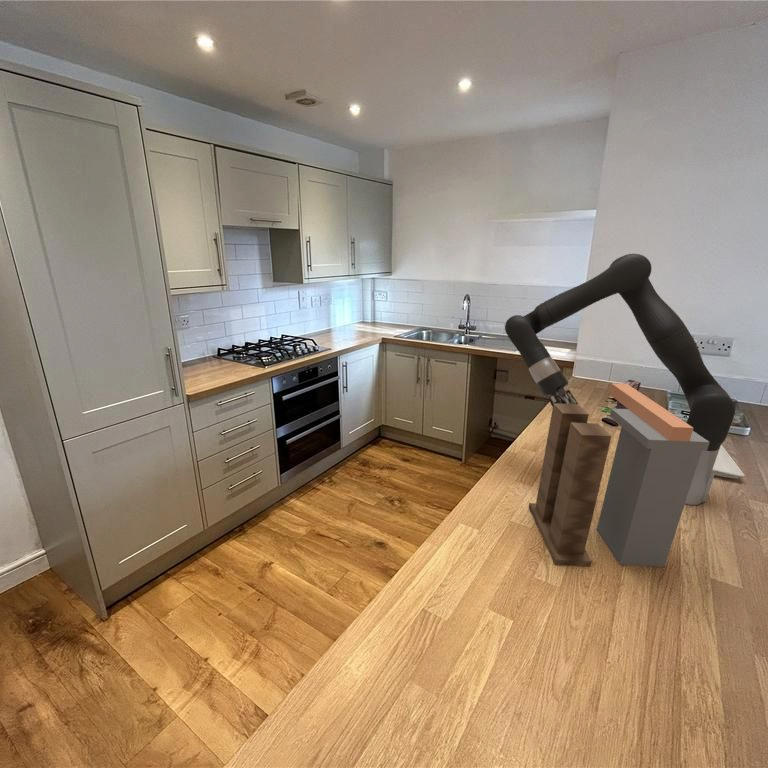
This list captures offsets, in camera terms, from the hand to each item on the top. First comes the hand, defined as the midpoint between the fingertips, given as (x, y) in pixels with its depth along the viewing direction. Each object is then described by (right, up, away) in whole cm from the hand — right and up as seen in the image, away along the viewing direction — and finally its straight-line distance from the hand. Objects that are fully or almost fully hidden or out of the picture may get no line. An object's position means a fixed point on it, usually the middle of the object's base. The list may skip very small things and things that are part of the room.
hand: (578, 426), depth 115 cm
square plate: (+49, -14, +29) cm, 58 cm away
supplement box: (+45, -3, +57) cm, 73 cm away
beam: (+6, +5, -19) cm, 21 cm away
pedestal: (+5, -27, -13) cm, 30 cm away
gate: (-11, -26, -11) cm, 30 cm away
